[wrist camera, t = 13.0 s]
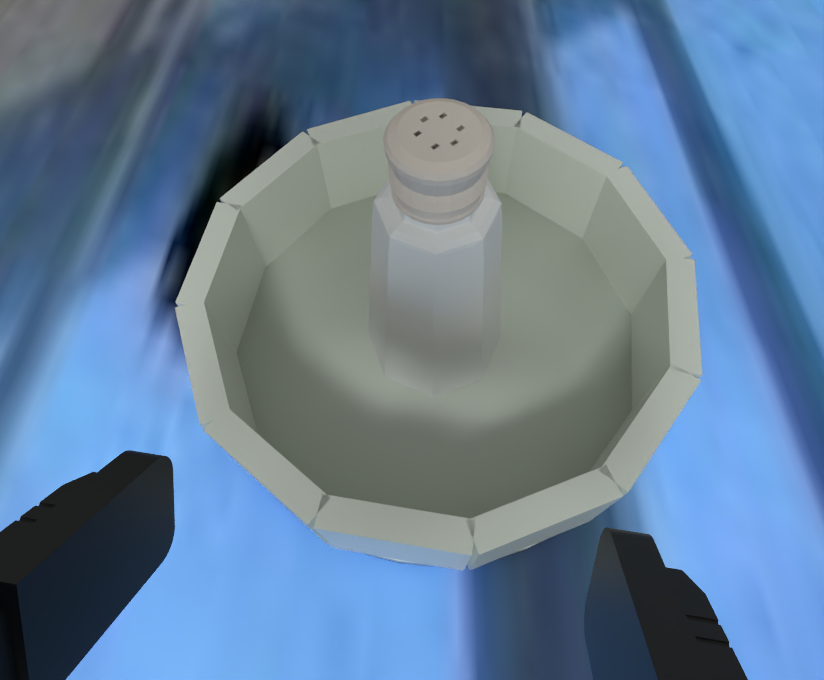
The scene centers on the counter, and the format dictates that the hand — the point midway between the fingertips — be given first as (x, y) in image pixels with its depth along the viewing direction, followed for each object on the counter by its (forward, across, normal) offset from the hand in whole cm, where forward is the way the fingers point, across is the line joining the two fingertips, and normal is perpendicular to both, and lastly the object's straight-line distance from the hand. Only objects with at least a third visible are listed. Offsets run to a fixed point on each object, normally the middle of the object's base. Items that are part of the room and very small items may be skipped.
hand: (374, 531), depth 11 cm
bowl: (+15, 0, +1) cm, 15 cm away
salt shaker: (+14, 0, +1) cm, 14 cm away
